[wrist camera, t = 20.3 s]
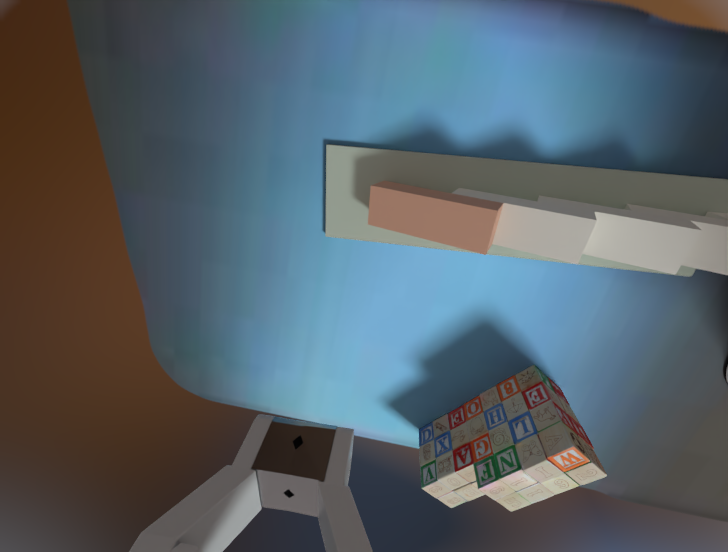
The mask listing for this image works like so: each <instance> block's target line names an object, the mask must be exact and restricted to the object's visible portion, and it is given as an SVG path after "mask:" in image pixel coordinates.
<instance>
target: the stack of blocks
mask: <svg viewBox="0 0 728 552" xmlns="http://www.w3.org/2000/svg"><path fill="white" fill-rule="evenodd" d="M419 447H420V448H419V456H420V467H421V488H422V489H423V490H425V491H426V492H428V493H429V494H431V495H432V496H433V497H435V498H437V499H439V500H440V501H441V502H443V503H444V504H446V505H447V506H449V507H450V508H453V507H455V506H457V505H460V504H462V503H464V502H466V501H470V500H473V499H475V498H477V497H480V496H483V495H485V494H486V495H488V496H489V497H490V498H492V499H494V500H496V501H497V502H498V503H500V504H502V505H503V506H504V507H505V508H507V509H508V510H509V511H514V510H517V509H520V508H522V507H525V506H528V505H530V504H532V503H535V502H538V501H541V500H543V499H546V498H549V497H551V496H553V495H555V494H559V493H562V492H564V491H567V490H569V489H572V488H575V487H578V486H579V485H584V484H587V483H590V482H593V481H595V480H598V479H601V478H604V477H606V476H607V474H606V472H605V470H604V469H603V467H602V465H601V463H600V461H599V460H598V458H597V456H596V454H595V452H594V451H593V449H594V448H593V446H592V444H591V442H590V440H589V438H588V437H587V435H586V433H585V431H584V429H583V428H582V426H581V425H580V423H579V421H578V420H577V418H576V416H575V414H574V413H573V411H572V409H571V407H570V405H569V403H568V401H567V399H566V398H565V396H564V394H563V392H562V390H561V389H560V388H559V387H558V386H557V385H556V384H555V383H554V382H553V381H552V380H550V379H549V378H548V377H547V376H546V375H545V374H543V373H542V372H541V371H540V370H539V369H538V368H537V367H536V366H535V365H532V366H531V367H529V368H527V369H525V370H523V371H522V372H520V373H518V374H516V375H514V376H512V377H510V378H508V379H506V380H505V381H503V382H501V383H499V384H497V385H496V386H494V387H492V388H490V389H488V390H487V391H485V392H483V393H481V394H480V395H479V396H477V397H476V398H474V399H472V400H470V401H469V402H467V403H465V404H464V405H462V406H460V407H459V408H457V409H455V410H453V411H452V412H450V413H449V414H446V415H444V416H442V417H440V418H439V419H437V420H435V421H433V422H431V423H430V424H428V425H426V426H425V427H423V428H421V429H419Z"/></svg>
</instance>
